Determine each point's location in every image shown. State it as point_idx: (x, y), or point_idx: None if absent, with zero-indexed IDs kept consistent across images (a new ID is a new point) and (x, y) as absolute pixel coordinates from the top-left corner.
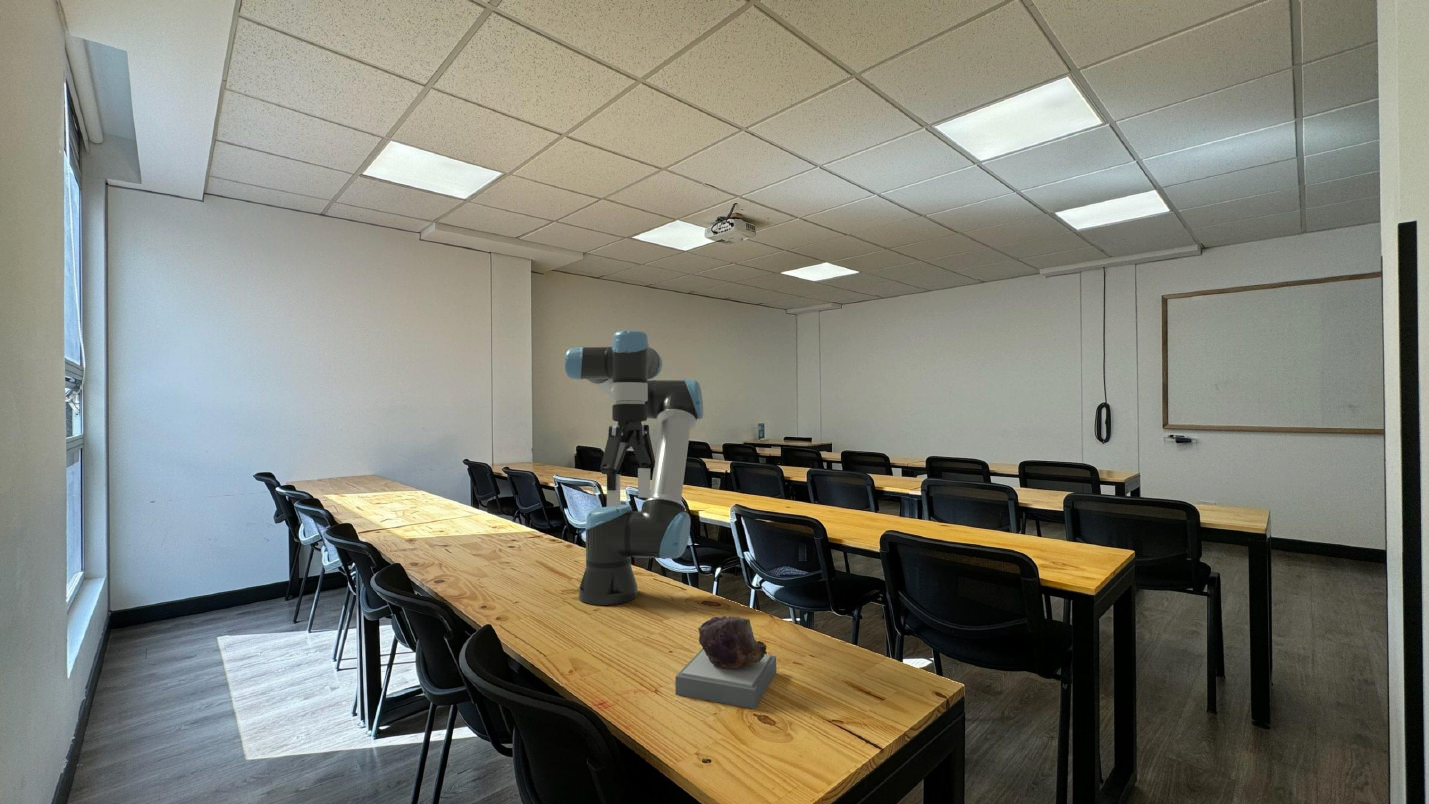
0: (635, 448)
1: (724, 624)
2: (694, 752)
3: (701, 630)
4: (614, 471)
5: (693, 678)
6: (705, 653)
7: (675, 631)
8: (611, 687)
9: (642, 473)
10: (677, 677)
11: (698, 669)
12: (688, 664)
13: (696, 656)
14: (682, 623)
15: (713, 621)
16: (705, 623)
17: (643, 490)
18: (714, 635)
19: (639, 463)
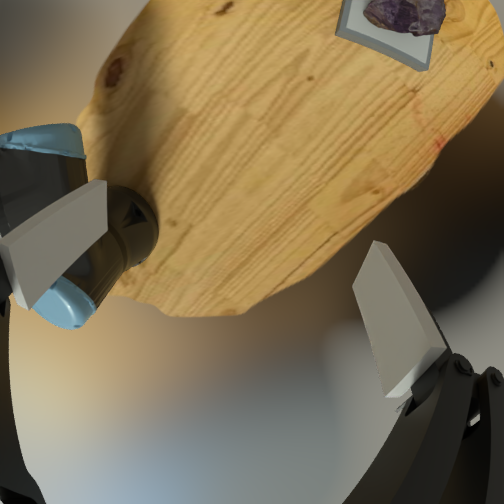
0: (9, 448)
1: (444, 7)
2: (486, 70)
3: (427, 31)
4: (470, 372)
5: (429, 52)
6: (372, 31)
7: (234, 84)
8: (411, 139)
9: (38, 268)
10: (428, 68)
11: (415, 44)
12: (399, 53)
13: (376, 42)
14: (200, 83)
15: (404, 11)
16: (393, 21)
17: (89, 218)
18: (442, 21)
19: (7, 323)
